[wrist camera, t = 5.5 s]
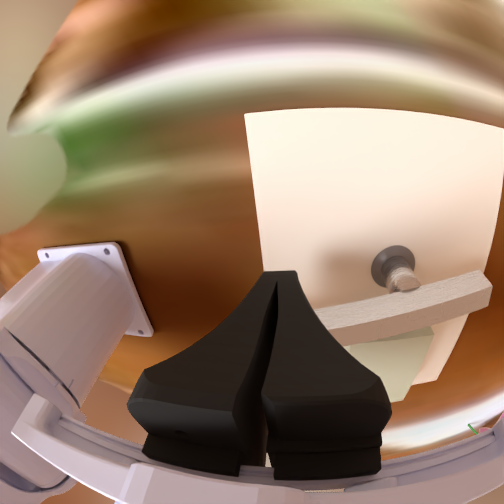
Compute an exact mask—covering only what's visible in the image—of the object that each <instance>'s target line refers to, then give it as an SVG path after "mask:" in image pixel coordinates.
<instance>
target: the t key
mask: <svg viewBox="0 0 504 504" xmlns="http://www.w3.org/2000/svg"><path fill="white" fill-rule="evenodd" d="M381 276H382V278H383V280H384V282H385V285H386V287H387V290H388V292H389V294H388V295H383V296H379V297H375V298H370V299H366V300H361V301H356V302H352V303H347V304H342V305H337V306H332V307H327V308H321V309H316V310H314V312H315V313H316V315H317V316H318V318H319V319H320V321H321V322H322V323H323V325H324V326H325V327H326V329H327V330H328V331H329V332H330V333H331V335H332V336H333V337H334V338H335V339H336V340H337V341H338V342H339V343H340V344H341V345H342V346H343V347H344V346H349V345H354V344H359V343H364V342H369V341H373V340H378V339H382V338H386V337H391V336H395V335H399V334H402V333H406V332H410V331H414V330H417V329H421V328H424V327H428V326H431V325H435V324H438V323H441V322H444V321H448V320H451V319H454V318H457V317H460V316H463V315H465V314H468V313H471V312H474V311H477V310H479V309H482V308H485V307H487V306H488V304H489V300H490V296H491V292H492V287H493V285H492V284H491V283H490V282H489V280H488V279H487V278H486V277H485V276H484V274H483V273H482V272H481V271H480V270H479V269H478V270H475V271H472V272H469V273H465V274H462V275H459V276H455V277H452V278H449V279H445V280H442V281H438V282H434V283H431V284H427V285H423V286H421V284H420V282H419V281H418V279H417V277H416V276H415V274H414V272H413V271H412V269H411V267H410V266H409V264H408V262H407V261H406V259H405V258H403V257H401V256H392V257H390V258H388V259H387V260H386V261H385V262H384V263H383V265H382V267H381Z"/></svg>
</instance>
